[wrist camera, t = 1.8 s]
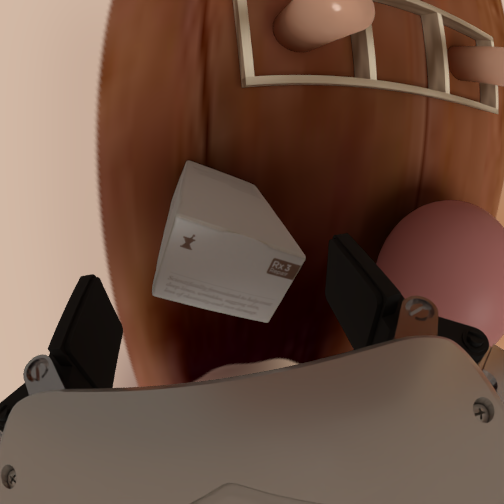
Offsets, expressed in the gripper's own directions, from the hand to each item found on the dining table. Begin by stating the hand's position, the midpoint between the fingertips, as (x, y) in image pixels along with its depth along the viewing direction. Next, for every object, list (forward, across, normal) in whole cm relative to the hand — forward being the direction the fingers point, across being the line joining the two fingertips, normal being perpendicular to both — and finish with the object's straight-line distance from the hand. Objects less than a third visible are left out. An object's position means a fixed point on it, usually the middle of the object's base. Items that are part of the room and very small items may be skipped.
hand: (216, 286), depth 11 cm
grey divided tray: (+13, -18, -12) cm, 25 cm away
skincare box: (+13, 0, +1) cm, 13 cm away
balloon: (+13, -22, +9) cm, 27 cm away
